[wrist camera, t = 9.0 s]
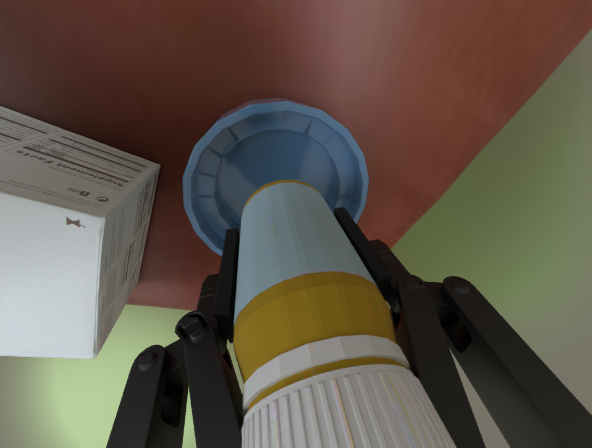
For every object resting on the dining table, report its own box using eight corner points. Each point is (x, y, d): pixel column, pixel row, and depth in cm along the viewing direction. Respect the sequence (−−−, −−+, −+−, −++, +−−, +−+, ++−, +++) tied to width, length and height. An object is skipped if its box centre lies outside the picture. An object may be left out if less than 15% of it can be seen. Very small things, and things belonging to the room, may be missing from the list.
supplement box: (-53, 83, 14) (-396, 89, 7) (163, 163, 19) (107, 217, 12) (-10, 258, 22) (-150, 356, 14) (139, 282, 27) (94, 363, 19)
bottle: (306, 252, 21) (385, 502, 8) (233, 239, 18) (197, 559, 6) (338, 190, 17) (546, 451, 5) (255, 164, 15) (271, 532, 3)
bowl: (155, 146, 19) (132, 163, 15) (325, 62, 17) (345, 57, 14) (247, 261, 28) (246, 289, 24) (362, 212, 27) (379, 233, 23)
